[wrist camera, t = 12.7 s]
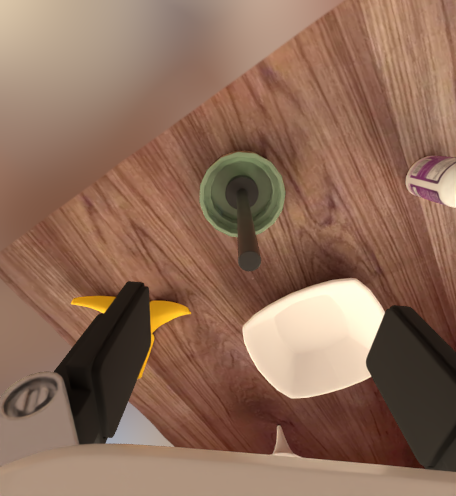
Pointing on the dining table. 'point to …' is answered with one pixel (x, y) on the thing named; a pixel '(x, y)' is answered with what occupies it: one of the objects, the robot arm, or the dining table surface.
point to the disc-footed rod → (244, 219)
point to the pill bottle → (434, 179)
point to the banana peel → (158, 312)
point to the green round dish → (265, 180)
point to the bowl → (315, 338)
